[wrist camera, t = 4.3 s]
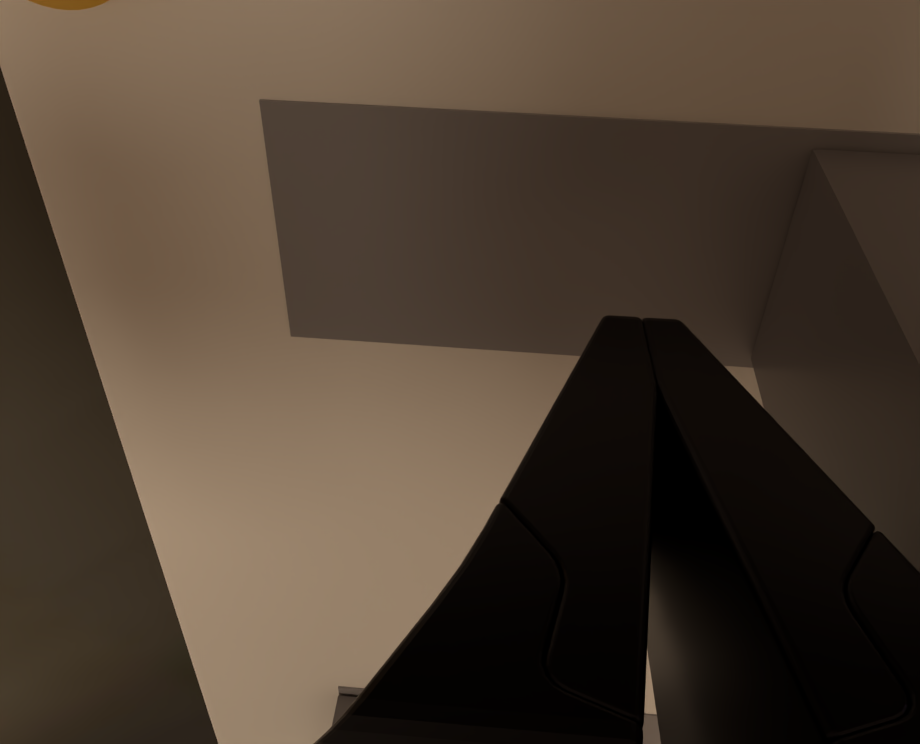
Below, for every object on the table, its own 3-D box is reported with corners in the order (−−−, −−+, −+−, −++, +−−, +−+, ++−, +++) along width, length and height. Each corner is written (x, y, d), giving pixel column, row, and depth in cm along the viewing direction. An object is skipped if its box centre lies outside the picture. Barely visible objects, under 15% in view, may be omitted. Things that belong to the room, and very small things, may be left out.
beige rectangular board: (750, 796, 23) (765, 884, 21) (254, 749, 23) (231, 831, 22) (1269, -239, 9) (1431, -210, 7) (-23, -275, 9) (-147, -256, 8)
